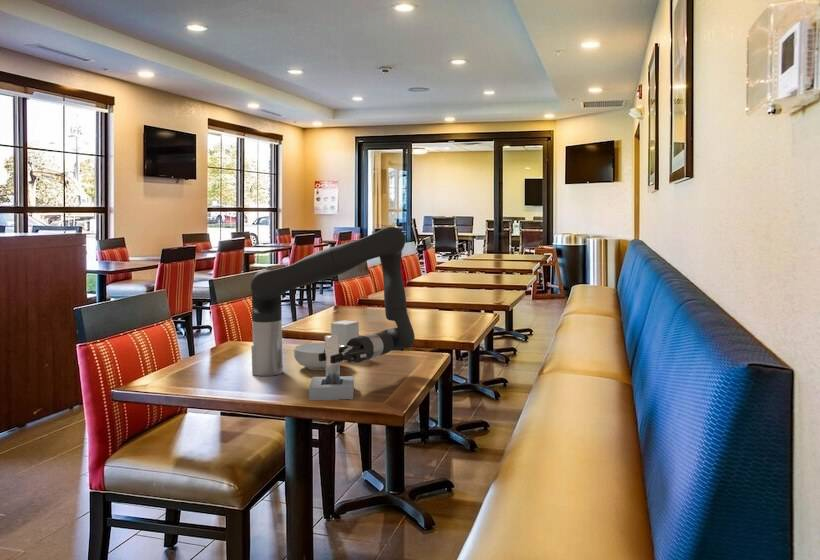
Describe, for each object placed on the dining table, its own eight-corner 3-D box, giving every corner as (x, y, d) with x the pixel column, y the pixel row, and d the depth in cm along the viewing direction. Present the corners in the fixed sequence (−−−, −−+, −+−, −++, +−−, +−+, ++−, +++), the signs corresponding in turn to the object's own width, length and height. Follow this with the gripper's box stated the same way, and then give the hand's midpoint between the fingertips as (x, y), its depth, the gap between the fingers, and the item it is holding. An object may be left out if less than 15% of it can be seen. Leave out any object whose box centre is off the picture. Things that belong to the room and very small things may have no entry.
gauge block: (309, 400, 179) (308, 387, 179) (312, 388, 191) (312, 376, 191) (352, 399, 180) (352, 387, 179) (353, 387, 192) (353, 376, 191)
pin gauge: (325, 386, 183) (324, 337, 182) (326, 382, 187) (325, 335, 186) (339, 386, 183) (338, 337, 182) (340, 382, 187) (339, 334, 186)
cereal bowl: (349, 372, 211) (348, 350, 210) (297, 375, 206) (297, 353, 206) (339, 360, 227) (339, 340, 226) (291, 363, 223) (291, 343, 222)
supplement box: (360, 356, 234) (359, 321, 233) (347, 360, 228) (346, 324, 227) (343, 353, 238) (343, 319, 237) (330, 357, 232) (330, 322, 231)
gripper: (347, 333, 200) (306, 342, 186) (383, 338, 191) (343, 348, 177) (347, 357, 200) (307, 368, 187) (383, 363, 192) (344, 375, 178)
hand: (325, 358), depth 182 cm, fingers closed on pin gauge, 4 cm apart
